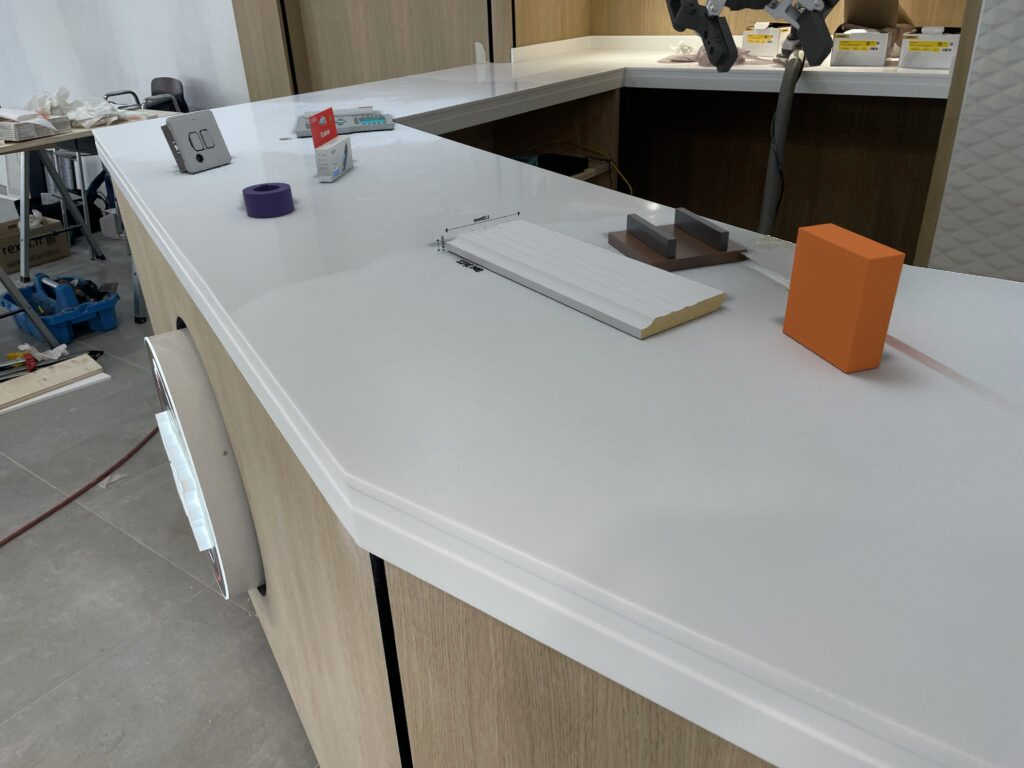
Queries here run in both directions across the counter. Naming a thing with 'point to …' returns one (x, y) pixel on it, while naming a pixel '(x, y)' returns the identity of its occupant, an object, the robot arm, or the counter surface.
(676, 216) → the brown slotted base
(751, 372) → the counter surface
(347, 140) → the ink cartridge box
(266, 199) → the purple donut ring
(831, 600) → the counter surface
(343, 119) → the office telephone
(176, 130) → the electrical switch
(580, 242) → the baseboard molding
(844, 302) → the orange rectangular block
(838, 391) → the counter surface
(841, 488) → the counter surface
